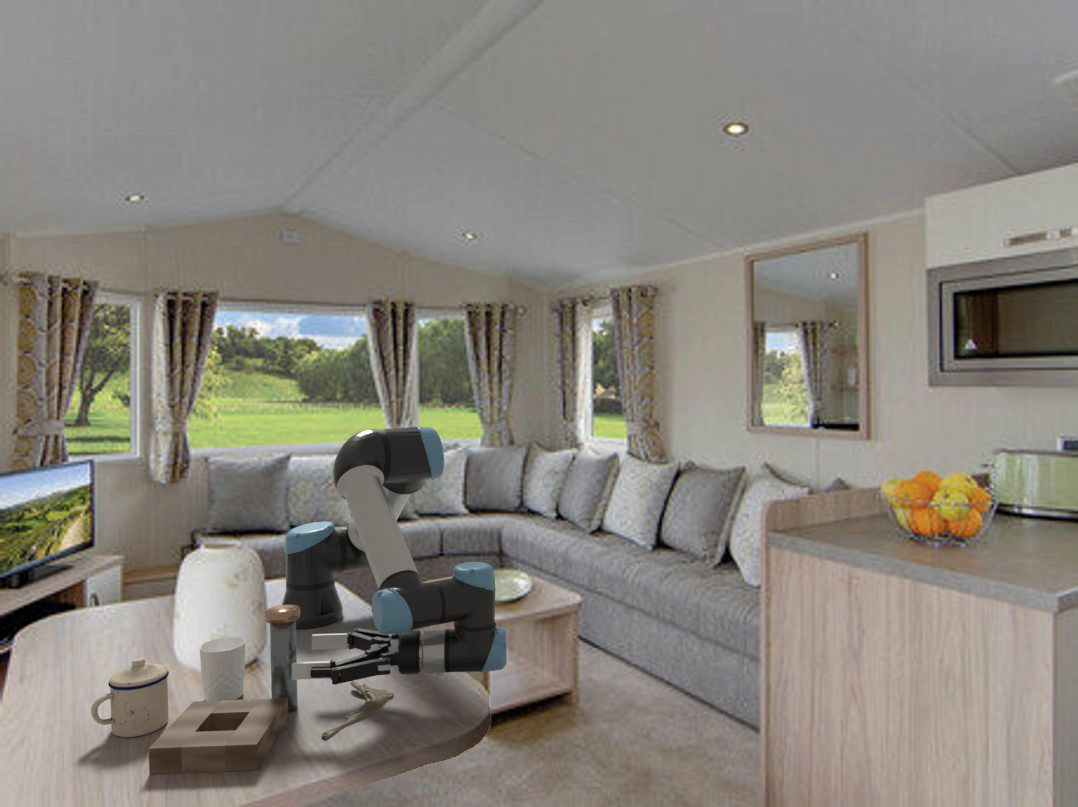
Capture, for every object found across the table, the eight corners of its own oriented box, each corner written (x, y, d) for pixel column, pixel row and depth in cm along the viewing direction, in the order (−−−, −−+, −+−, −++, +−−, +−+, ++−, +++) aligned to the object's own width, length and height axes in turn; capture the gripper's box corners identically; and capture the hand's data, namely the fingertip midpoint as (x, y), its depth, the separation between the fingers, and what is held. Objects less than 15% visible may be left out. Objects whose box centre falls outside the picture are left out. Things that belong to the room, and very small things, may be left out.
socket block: (194, 724, 125) (193, 701, 125) (288, 720, 126) (287, 698, 126) (149, 774, 109) (148, 748, 109) (257, 770, 110) (256, 744, 110)
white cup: (236, 684, 142) (235, 633, 141) (253, 696, 136) (252, 643, 136) (194, 696, 136) (193, 644, 136) (210, 710, 130) (208, 655, 130)
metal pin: (273, 701, 134) (270, 605, 133) (306, 700, 134) (304, 604, 133) (262, 716, 128) (260, 615, 127) (297, 715, 128) (294, 614, 127)
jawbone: (397, 692, 139) (398, 681, 139) (375, 747, 119) (375, 735, 119) (350, 689, 139) (351, 678, 139) (320, 743, 119) (320, 731, 119)
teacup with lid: (155, 709, 131) (153, 645, 131) (179, 723, 125) (177, 657, 125) (81, 735, 121) (79, 667, 121) (104, 752, 116) (102, 680, 115)
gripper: (414, 702, 119) (283, 707, 118) (428, 646, 144) (320, 650, 142) (413, 657, 119) (282, 662, 117) (427, 609, 143) (319, 612, 142)
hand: (302, 655), depth 130 cm, fingers open, 13 cm apart
